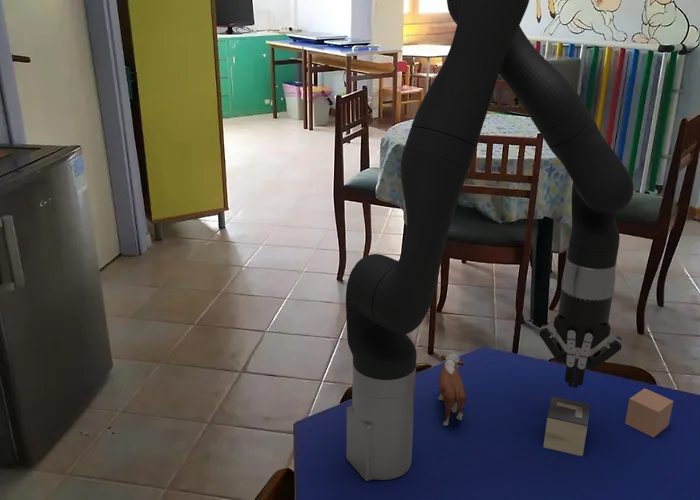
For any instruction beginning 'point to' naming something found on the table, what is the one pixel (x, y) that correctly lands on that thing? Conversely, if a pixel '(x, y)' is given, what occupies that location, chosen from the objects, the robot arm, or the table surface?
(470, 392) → the table surface
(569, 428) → the oak block
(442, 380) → the bull figurine
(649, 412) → the terracotta block
